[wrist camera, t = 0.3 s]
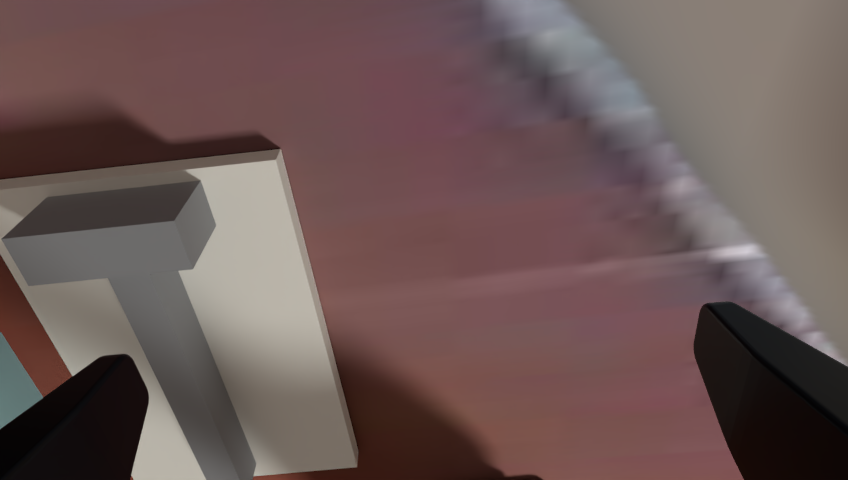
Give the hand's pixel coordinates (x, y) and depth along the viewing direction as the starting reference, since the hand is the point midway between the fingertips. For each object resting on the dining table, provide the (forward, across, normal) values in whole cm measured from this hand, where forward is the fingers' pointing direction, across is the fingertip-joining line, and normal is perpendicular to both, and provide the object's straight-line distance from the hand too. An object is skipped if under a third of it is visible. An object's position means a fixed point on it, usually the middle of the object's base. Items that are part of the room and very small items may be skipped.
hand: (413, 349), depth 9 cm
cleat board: (+14, +11, +11) cm, 21 cm away
